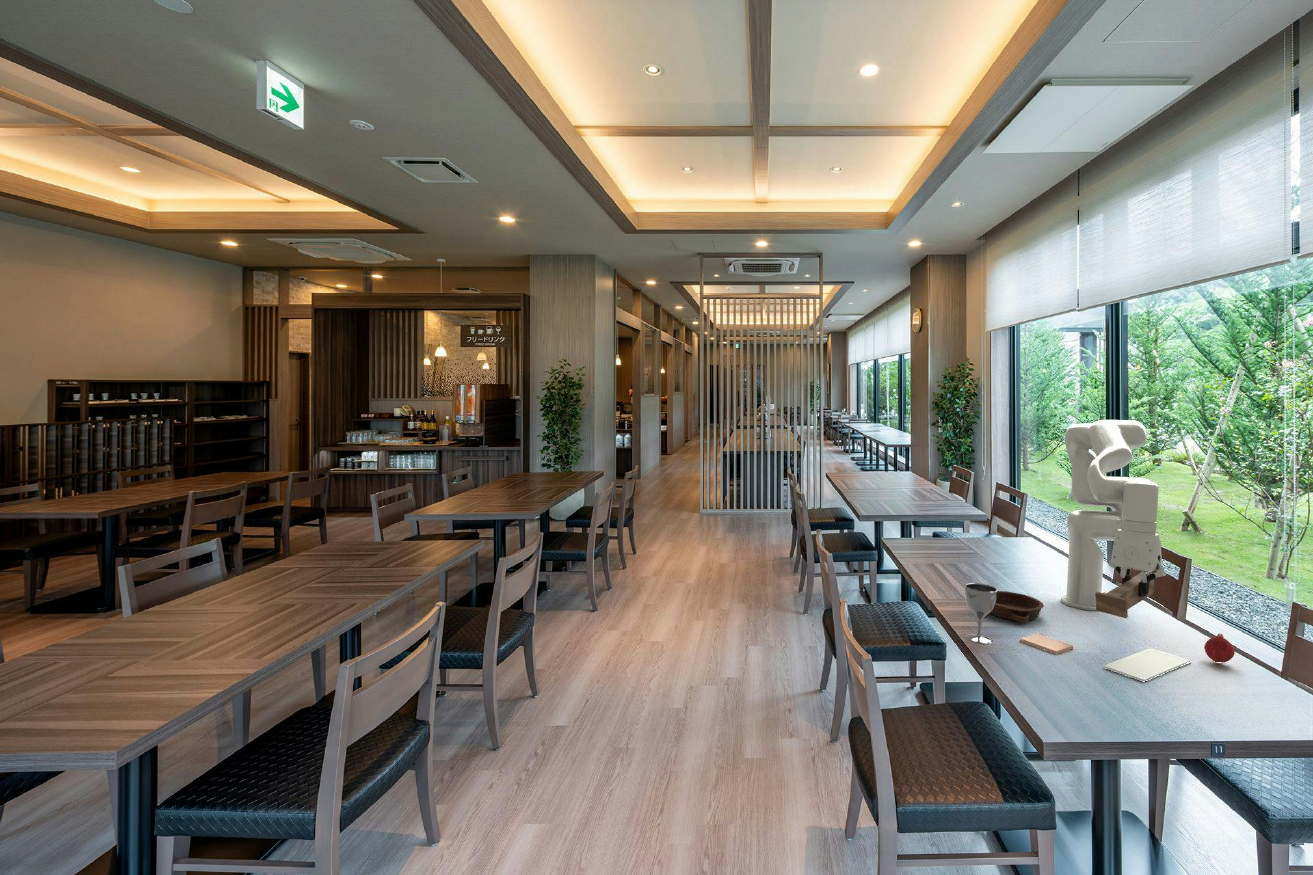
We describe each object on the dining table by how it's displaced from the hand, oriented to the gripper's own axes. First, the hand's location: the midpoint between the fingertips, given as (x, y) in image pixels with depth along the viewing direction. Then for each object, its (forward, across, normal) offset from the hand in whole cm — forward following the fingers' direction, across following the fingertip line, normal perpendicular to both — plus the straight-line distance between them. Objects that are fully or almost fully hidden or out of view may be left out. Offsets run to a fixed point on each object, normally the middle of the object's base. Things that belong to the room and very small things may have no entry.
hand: (1134, 593), depth 170 cm
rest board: (+16, +7, -7) cm, 19 cm away
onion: (+16, +14, +11) cm, 25 cm away
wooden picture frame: (+16, -13, -12) cm, 24 cm away
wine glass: (+16, -25, -29) cm, 42 cm away
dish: (+16, -33, -1) cm, 37 cm away
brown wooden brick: (+2, 0, -2) cm, 3 cm away
